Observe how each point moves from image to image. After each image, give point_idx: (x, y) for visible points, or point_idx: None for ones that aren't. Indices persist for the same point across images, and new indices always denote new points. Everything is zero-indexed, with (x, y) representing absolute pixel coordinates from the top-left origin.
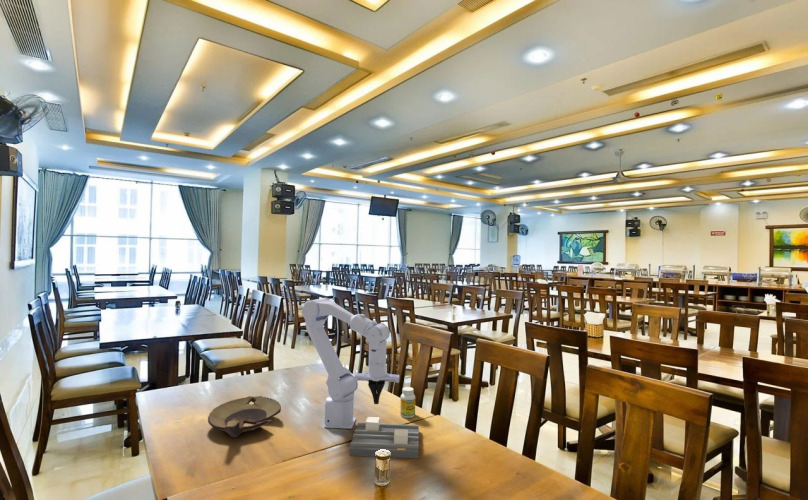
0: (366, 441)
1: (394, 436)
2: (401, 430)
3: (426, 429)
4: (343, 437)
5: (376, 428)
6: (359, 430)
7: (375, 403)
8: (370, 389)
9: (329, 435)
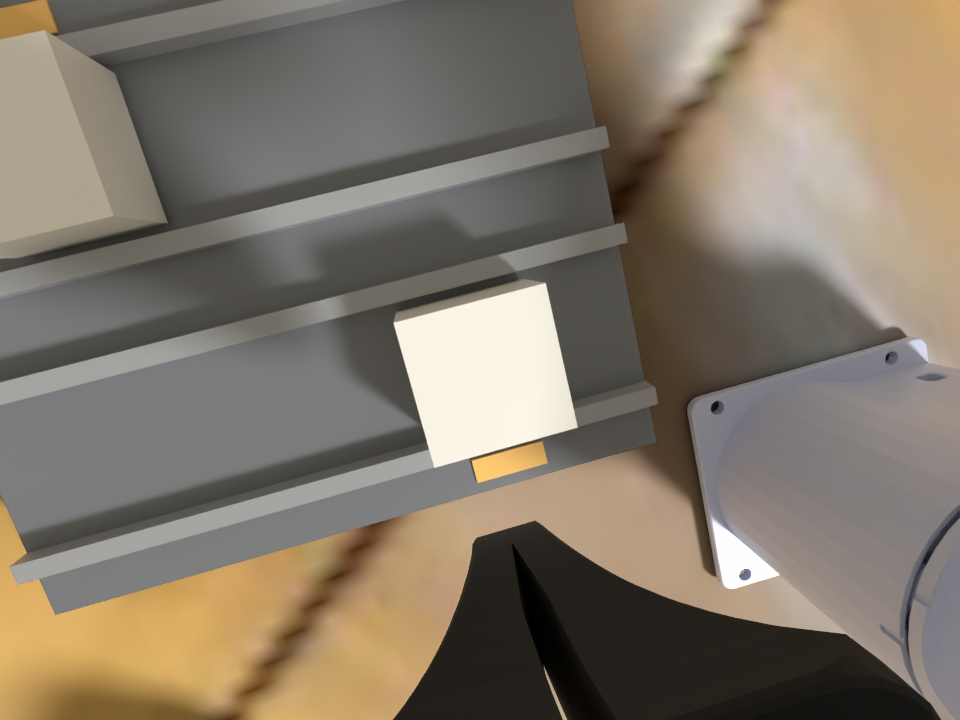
0: (438, 88)
1: (47, 35)
2: (8, 203)
3: (33, 643)
4: (700, 234)
5: (414, 310)
6: (580, 241)
7: (517, 527)
8: (729, 617)
9: (825, 228)
